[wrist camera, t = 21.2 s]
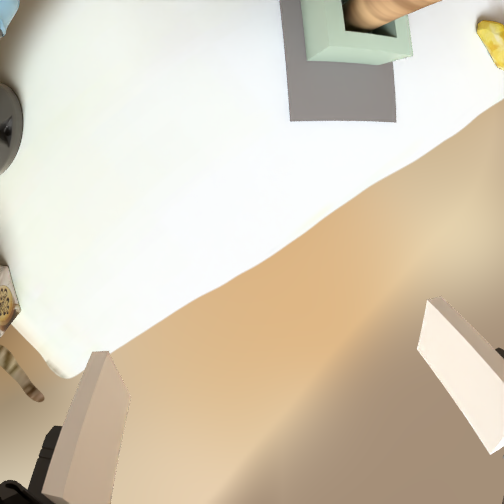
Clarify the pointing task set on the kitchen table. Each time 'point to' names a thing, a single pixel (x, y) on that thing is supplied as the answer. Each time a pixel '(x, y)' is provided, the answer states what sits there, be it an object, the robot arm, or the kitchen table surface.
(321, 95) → the mat
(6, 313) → the coffee box
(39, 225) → the kitchen table surface
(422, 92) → the kitchen table surface
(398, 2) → the dowel
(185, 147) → the kitchen table surface
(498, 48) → the chocolate bunny
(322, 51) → the mint green square pot
